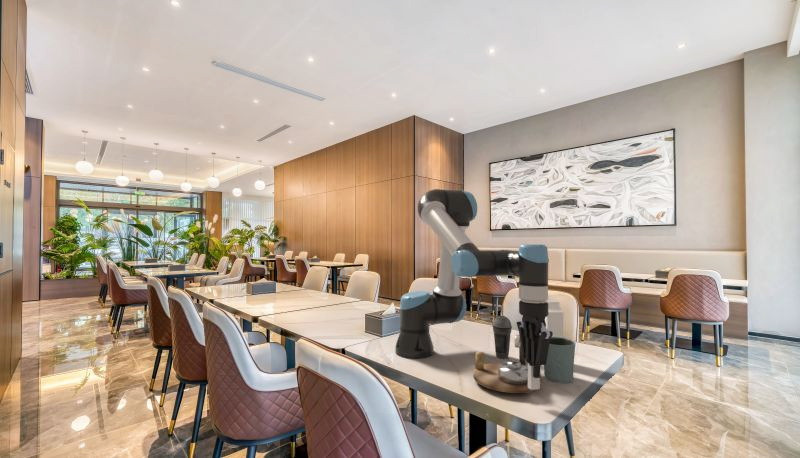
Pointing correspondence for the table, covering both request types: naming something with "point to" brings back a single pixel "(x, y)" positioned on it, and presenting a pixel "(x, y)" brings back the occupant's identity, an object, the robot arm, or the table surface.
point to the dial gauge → (518, 345)
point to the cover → (513, 373)
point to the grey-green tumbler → (560, 360)
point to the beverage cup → (502, 336)
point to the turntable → (494, 377)
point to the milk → (555, 319)
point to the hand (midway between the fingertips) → (533, 388)
